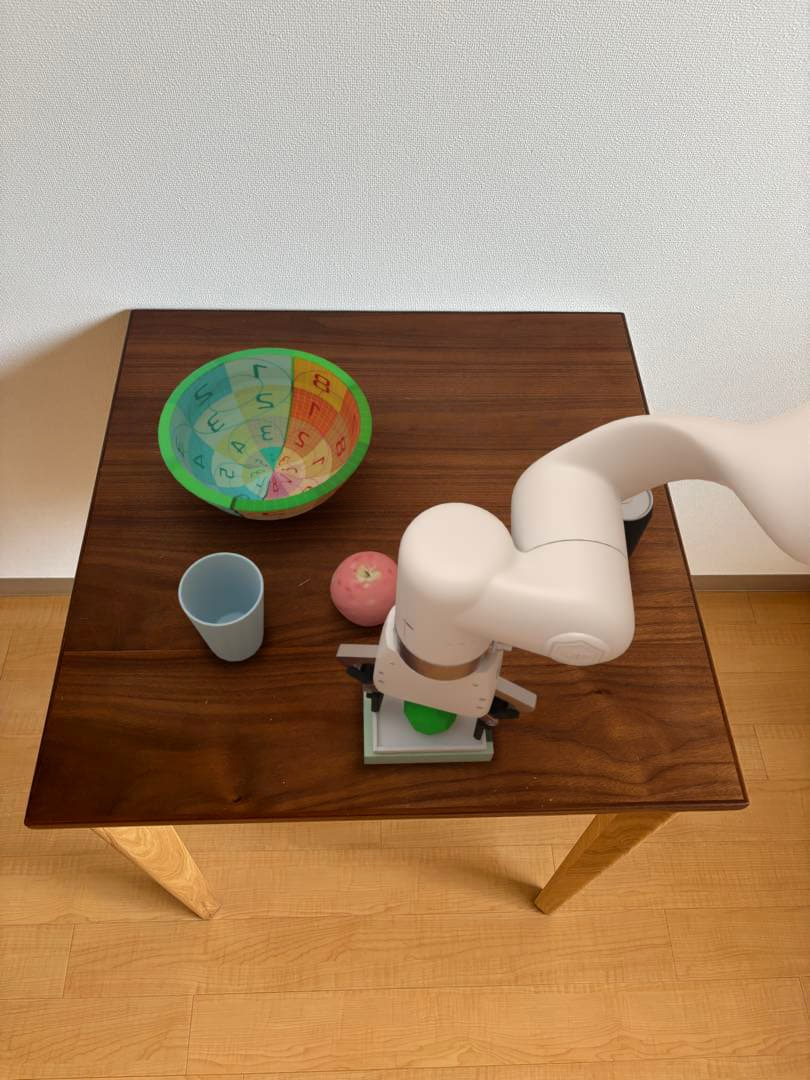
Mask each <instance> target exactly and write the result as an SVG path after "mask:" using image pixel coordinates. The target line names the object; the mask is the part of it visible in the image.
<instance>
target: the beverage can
mask: <svg viewBox="0 0 810 1080" xmlns="http://www.w3.org/2000/svg"><path fill="white" fill-rule="evenodd" d="M653 503H654V496H653V492H652V489H649V490H647V491H644V492H642V493H640V494H638V495H635V496H633V497H631V498H629V499H627V500H625V501H623V502H621V506H622V515H623V523H624V531H625V539H626V547H627V555H628V562H629V561H630V559H631V557H632V556H633V553H634V552H635V549H636V547H637V546H638V544H639V542H640V540H641V538H642V537H643V535H644V532H645V531H646V529H647V526H648V525H649V523H650V521H651V519H652V517H653V512H654V506H653V505H654V504H653Z"/></svg>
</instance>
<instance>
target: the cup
mask: <svg viewBox="0 0 810 1080" xmlns="http://www.w3.org/2000/svg"><path fill="white" fill-rule="evenodd" d="M188 567H189V568H187V570H186V571H185V572H184V573H183V575H182V576H181V579H180V582H179V586H178V600H179V601H178V602H179V604H180V606H181V608H182V611H184V613H185V614H186V616H187V618H188V619H189V620H190V621H191V623H192V625H193V626H194V627H195V629H196V630H197V631H198V633H199V634H200V635H201V637H202V638H203V640H204V641H205V643H206V644H207V646H208V647H209V649H210V650H211V651H212V652H213V653H214V654H215V655H216V657H217V658H219V659H222V660H225V661H227V662H241V661H244V660H247V659H248V658H250V657H252V656H253V655H255V654H256V652H257V651H258V650H259V648H260V647H261V646H262V644H263V639H264V608H265V607H264V599H265V598H264V596H265V593H264V592H265V591H264V590H265V588H264V587H265V586H264V585H265V583H264V577H263V575H262V572H261V571H260V569H259V568H258V566H257V565H256V564H255V563H254V562H253V561H252V560H250V559H249V558H247V557H246V556H243V555H241V554H239V553H234V552H215V553H212V554H208V555H206V556H203V557H202V558H200V559H198V560H196V561H195V562H194V563H193V564H191V565H190V566H188Z"/></svg>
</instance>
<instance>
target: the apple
mask: <svg viewBox="0 0 810 1080" xmlns="http://www.w3.org/2000/svg"><path fill="white" fill-rule="evenodd" d="M397 570H398V563H396V562H395V561H394V560H393V559H392V558H391V557H389V556H387V555H386V554H383V553H382V552H377V551H372V550H369V551H368V550H367V551H360V552H355V553H354V554H351V555H350V556H347V558H345V559H344V560H343V561H342V562H340V564H339V565H338V567H337V568H336V570H335V571H334V573H333V575H332V577H331V581H330V585H329V589H330V590H329V591H330V598H331V600H332V602H333V604H334V606H335V608H337V610H338V611H339V613H340V614H341V615H342V616H343V617H345V619H347V620H348V621H350V622H352V623H353V624H356V625H358V626H361V627H376V626H378V625H382V624H384V623H385V621H386V618H387V616H388V614H389V612H390V611H391V609H392V608H393V606H394V605H395V602H396V587H397Z"/></svg>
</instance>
